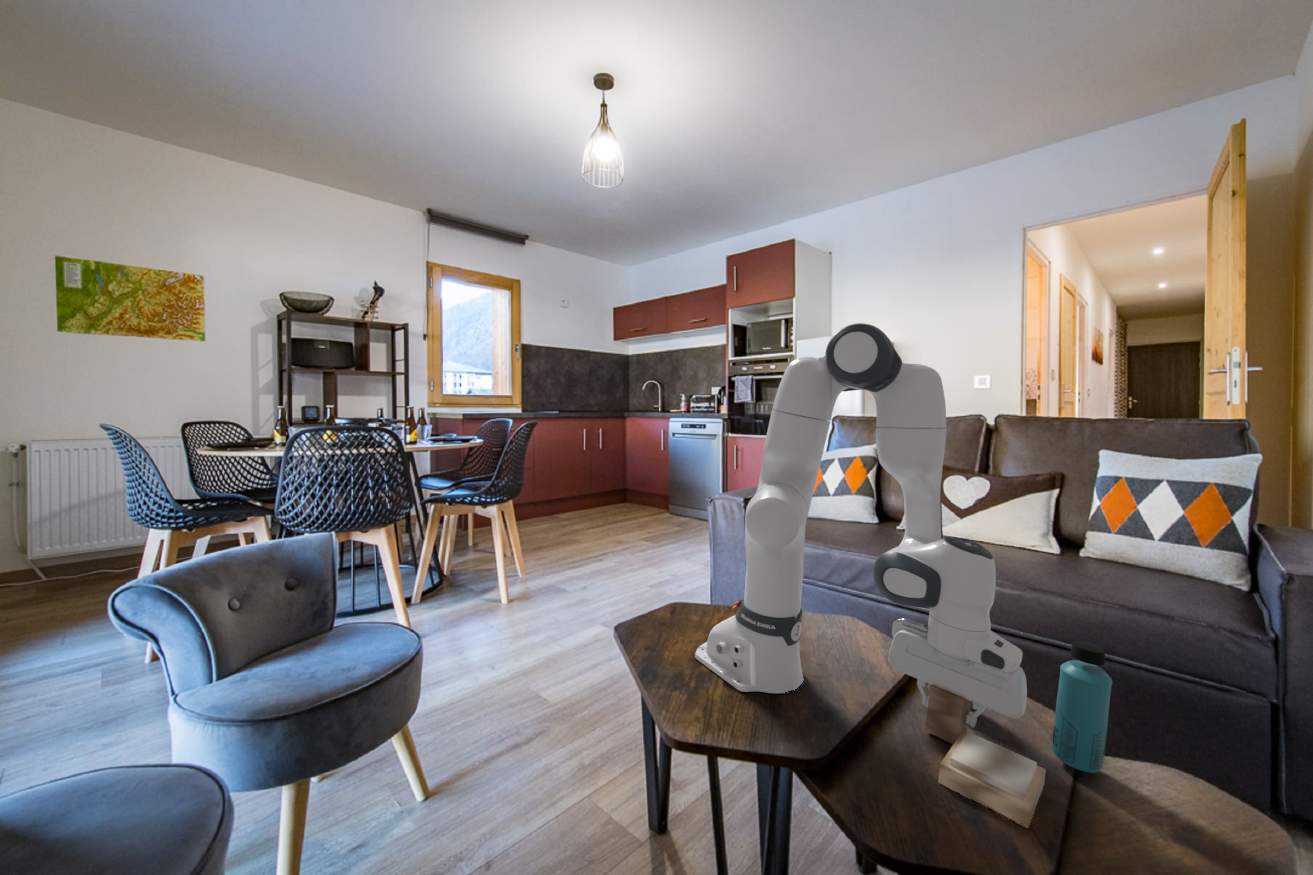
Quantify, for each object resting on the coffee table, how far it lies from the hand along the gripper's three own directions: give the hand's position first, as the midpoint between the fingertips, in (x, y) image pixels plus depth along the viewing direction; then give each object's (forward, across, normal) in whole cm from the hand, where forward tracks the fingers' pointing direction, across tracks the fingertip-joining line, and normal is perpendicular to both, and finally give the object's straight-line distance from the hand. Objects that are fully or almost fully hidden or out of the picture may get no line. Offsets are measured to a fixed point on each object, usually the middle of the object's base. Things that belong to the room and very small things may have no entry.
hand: (948, 714), depth 87 cm
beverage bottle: (+4, +16, +8) cm, 18 cm away
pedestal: (+4, +8, -7) cm, 12 cm away
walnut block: (+3, 0, 0) cm, 3 cm away
